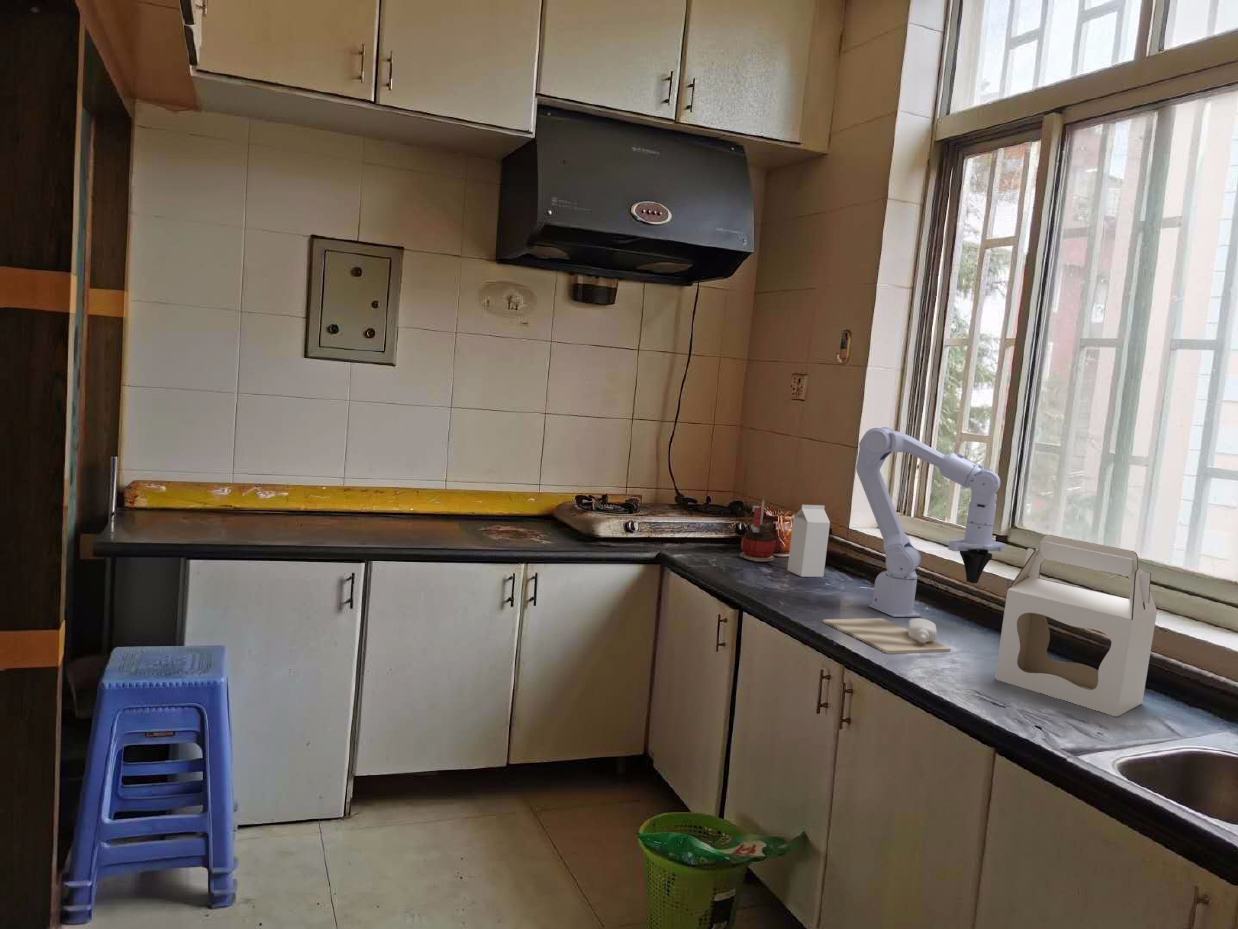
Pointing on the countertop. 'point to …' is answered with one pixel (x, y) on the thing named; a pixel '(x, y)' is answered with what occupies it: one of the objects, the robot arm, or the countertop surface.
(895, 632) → the birch board
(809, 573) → the milk carton
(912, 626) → the eye dropper bottle
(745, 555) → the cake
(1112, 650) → the gable box
